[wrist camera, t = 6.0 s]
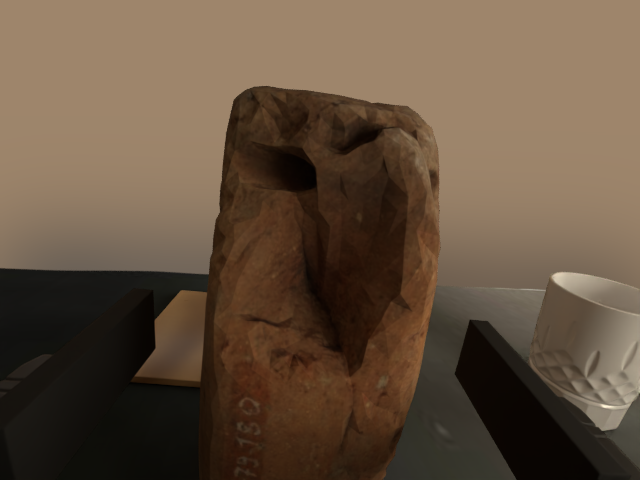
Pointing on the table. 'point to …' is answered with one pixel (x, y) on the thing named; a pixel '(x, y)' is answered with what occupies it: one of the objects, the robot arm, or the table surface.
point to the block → (317, 287)
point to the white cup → (589, 344)
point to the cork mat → (177, 343)
